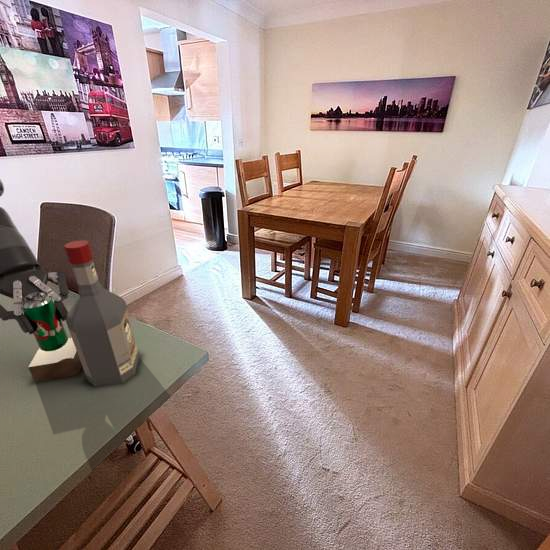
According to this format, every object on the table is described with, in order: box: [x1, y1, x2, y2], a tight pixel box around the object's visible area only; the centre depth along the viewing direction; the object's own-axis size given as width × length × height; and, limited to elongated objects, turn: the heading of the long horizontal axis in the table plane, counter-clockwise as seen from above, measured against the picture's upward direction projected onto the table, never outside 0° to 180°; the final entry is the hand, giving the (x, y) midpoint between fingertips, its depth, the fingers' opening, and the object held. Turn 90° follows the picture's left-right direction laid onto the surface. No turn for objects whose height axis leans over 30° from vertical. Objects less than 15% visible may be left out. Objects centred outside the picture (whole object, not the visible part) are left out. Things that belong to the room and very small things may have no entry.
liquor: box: [64, 239, 140, 387], centre depth 59 cm, size 9×9×30 cm
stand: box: [27, 337, 83, 383], centre depth 66 cm, size 8×8×5 cm
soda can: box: [21, 291, 69, 351], centre depth 61 cm, size 5×5×12 cm
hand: (48, 325), depth 60 cm, fingers closed on soda can, 5 cm apart
